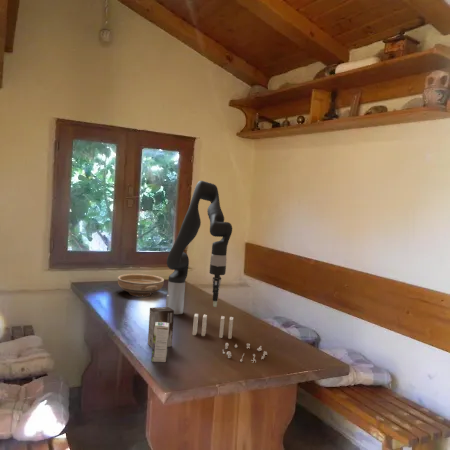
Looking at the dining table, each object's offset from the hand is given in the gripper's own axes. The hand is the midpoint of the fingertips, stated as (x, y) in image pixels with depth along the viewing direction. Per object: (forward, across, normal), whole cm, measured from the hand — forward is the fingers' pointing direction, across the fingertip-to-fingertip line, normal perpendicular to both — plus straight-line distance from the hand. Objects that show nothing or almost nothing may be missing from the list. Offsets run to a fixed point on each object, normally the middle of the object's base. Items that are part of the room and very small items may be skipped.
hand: (215, 299), depth 227 cm
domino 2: (+17, 0, -4) cm, 18 cm away
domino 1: (+17, 0, -8) cm, 19 cm away
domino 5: (+17, 0, +8) cm, 19 cm away
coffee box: (+17, +21, -22) cm, 35 cm away
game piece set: (+18, +22, +16) cm, 32 cm away
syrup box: (+18, +38, -18) cm, 46 cm away
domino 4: (+17, 0, +4) cm, 18 cm away
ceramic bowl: (+17, -69, -50) cm, 87 cm away
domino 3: (+3, 0, 0) cm, 3 cm away
